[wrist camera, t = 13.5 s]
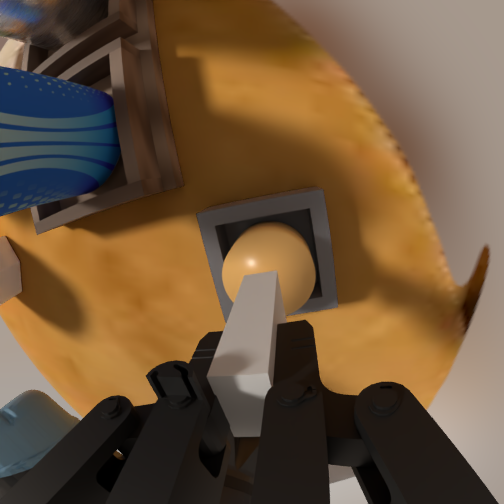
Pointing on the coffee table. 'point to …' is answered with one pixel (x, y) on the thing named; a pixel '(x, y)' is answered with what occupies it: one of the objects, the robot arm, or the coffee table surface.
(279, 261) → the button
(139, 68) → the tray
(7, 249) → the jar
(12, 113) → the beer can
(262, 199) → the button housing
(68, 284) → the coffee table surface
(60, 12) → the billet
